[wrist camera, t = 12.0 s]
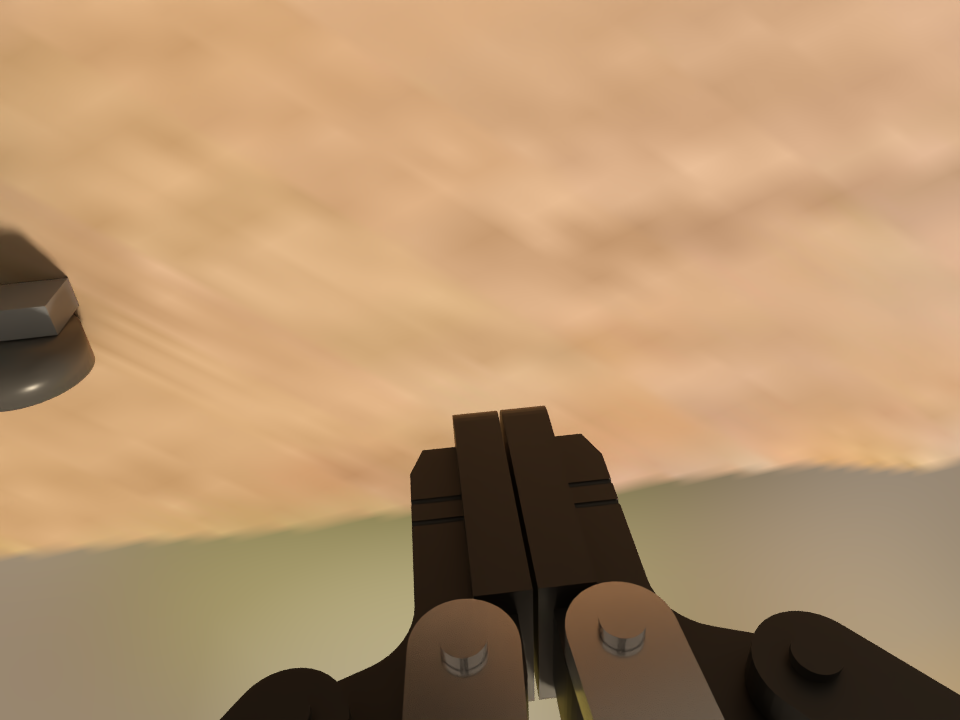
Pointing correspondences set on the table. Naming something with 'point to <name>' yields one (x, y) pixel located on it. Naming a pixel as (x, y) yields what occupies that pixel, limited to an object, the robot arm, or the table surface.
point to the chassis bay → (40, 343)
